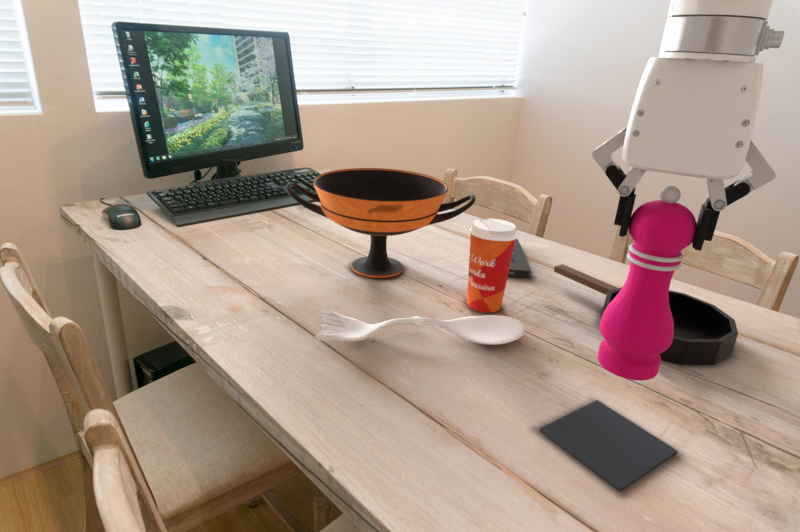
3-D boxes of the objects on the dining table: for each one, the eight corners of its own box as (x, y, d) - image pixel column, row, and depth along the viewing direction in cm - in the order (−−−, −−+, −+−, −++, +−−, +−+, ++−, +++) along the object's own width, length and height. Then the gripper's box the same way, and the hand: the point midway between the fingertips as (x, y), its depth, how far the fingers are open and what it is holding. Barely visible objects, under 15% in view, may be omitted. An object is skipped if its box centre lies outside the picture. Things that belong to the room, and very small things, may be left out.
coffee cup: (452, 298, 96) (460, 219, 90) (489, 292, 99) (499, 215, 94) (478, 319, 89) (489, 235, 83) (517, 311, 92) (530, 230, 87)
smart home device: (490, 267, 106) (483, 235, 125) (489, 275, 107) (482, 242, 126) (532, 270, 106) (518, 237, 125) (531, 278, 107) (517, 244, 125)
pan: (751, 344, 86) (759, 322, 85) (688, 378, 76) (696, 354, 74) (586, 273, 111) (590, 256, 109) (520, 292, 100) (524, 272, 99)
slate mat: (677, 453, 61) (678, 450, 61) (619, 491, 55) (620, 488, 55) (596, 402, 69) (597, 399, 69) (539, 430, 63) (539, 428, 63)
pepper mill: (595, 376, 55) (638, 190, 48) (589, 343, 62) (626, 174, 54) (669, 389, 54) (725, 199, 46) (655, 353, 61) (703, 182, 53)
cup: (271, 287, 96) (268, 192, 89) (303, 240, 119) (302, 162, 113) (470, 302, 95) (482, 207, 88) (462, 252, 118) (471, 174, 112)
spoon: (317, 324, 84) (317, 304, 83) (512, 324, 88) (514, 305, 87) (315, 354, 76) (315, 333, 74) (530, 353, 80) (533, 332, 78)
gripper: (818, 49, 46) (754, 245, 52) (608, 40, 52) (575, 215, 59) (842, 47, 39) (765, 270, 46) (600, 36, 46) (563, 233, 53)
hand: (659, 237), depth 52 cm, fingers closed on pepper mill, 6 cm apart
